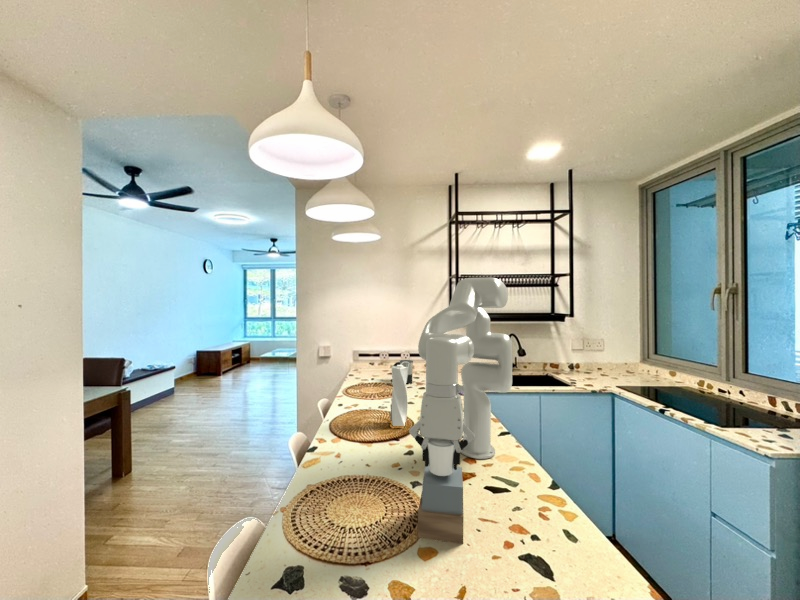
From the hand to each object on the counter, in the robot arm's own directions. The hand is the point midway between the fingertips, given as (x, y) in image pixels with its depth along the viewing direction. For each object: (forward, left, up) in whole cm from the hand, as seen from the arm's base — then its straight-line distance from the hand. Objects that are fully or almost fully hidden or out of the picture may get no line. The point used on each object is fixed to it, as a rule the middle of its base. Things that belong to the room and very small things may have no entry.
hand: (441, 464), depth 76 cm
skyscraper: (-60, -22, -15) cm, 65 cm away
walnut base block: (0, 0, -14) cm, 14 cm away
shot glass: (0, 0, -1) cm, 1 cm away
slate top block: (0, 0, -8) cm, 8 cm away
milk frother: (-134, -35, -14) cm, 139 cm away
